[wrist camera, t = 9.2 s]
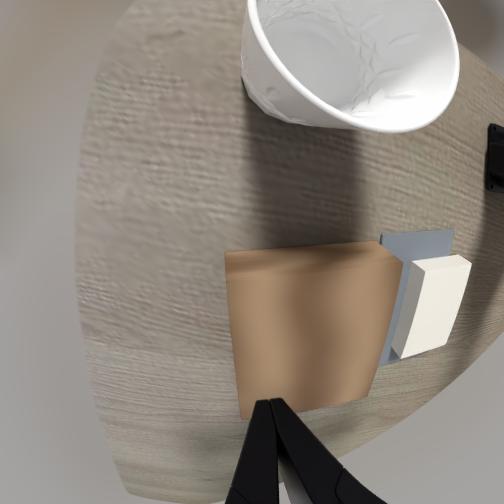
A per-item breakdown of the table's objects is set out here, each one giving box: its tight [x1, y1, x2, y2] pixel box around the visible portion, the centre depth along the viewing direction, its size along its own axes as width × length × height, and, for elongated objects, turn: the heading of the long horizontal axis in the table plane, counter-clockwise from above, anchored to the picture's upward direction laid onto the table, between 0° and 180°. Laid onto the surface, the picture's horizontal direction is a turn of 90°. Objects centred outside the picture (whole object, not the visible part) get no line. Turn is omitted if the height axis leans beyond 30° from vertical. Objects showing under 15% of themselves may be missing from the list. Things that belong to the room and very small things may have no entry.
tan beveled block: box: [224, 241, 404, 420], centre depth 20 cm, size 11×13×4 cm
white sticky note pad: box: [391, 255, 472, 359], centre depth 22 cm, size 6×9×2 cm, turn 3°
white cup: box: [241, 0, 460, 134], centre depth 11 cm, size 8×8×10 cm
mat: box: [378, 229, 454, 366], centre depth 23 cm, size 8×14×1 cm, turn 2°
